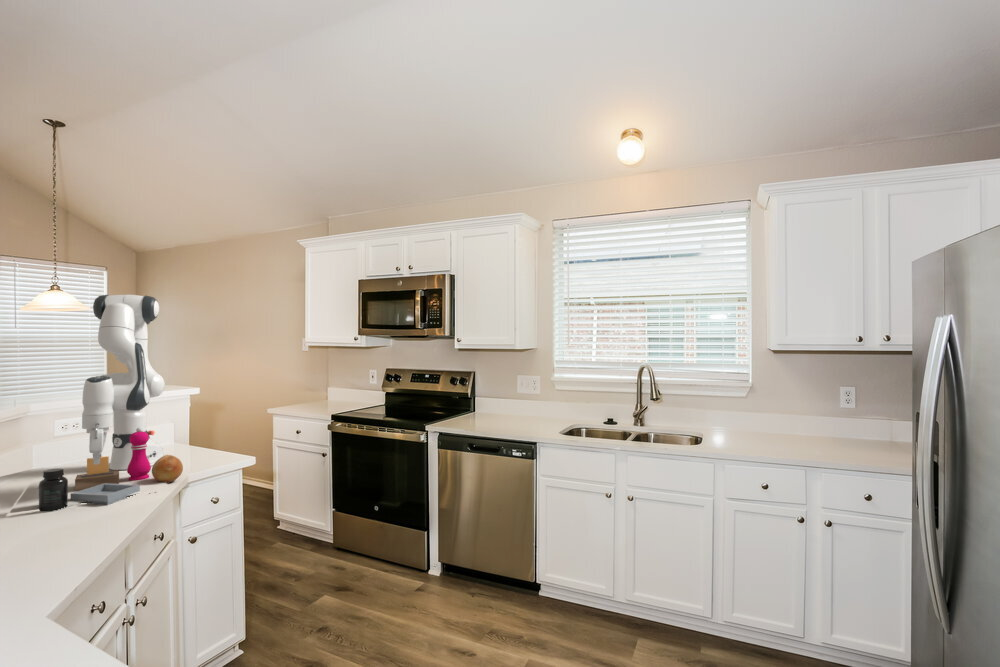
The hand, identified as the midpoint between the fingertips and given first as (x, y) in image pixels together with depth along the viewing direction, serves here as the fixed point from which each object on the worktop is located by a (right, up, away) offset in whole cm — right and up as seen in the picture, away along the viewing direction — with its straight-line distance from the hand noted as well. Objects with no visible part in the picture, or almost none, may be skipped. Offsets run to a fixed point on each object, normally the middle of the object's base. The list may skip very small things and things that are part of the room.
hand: (97, 461), depth 183 cm
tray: (+11, -10, -11) cm, 18 cm away
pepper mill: (+8, -10, +10) cm, 16 cm away
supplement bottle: (+2, -10, -21) cm, 23 cm away
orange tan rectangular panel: (0, -9, 0) cm, 9 cm away
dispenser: (0, -10, 0) cm, 10 cm away
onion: (+19, -10, +8) cm, 23 cm away
